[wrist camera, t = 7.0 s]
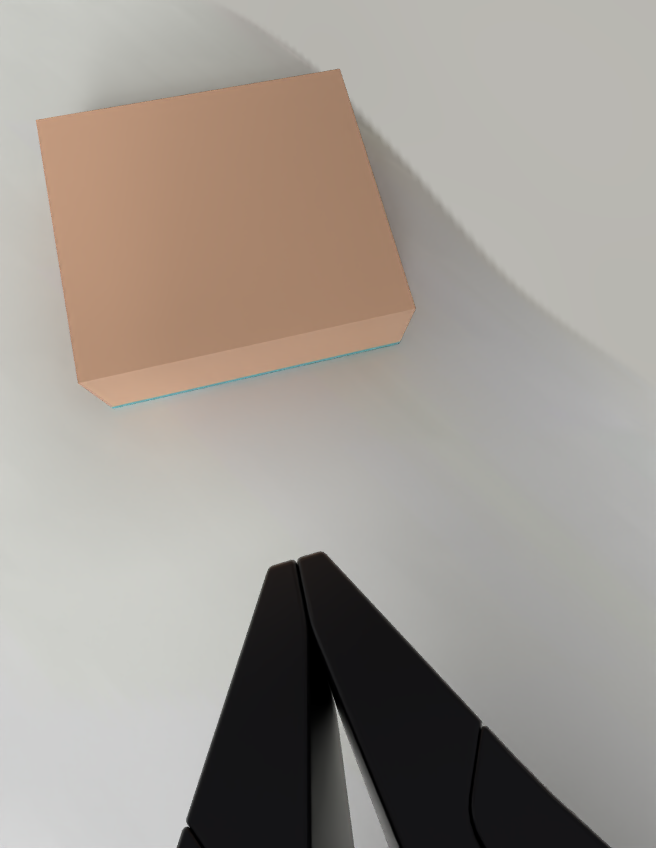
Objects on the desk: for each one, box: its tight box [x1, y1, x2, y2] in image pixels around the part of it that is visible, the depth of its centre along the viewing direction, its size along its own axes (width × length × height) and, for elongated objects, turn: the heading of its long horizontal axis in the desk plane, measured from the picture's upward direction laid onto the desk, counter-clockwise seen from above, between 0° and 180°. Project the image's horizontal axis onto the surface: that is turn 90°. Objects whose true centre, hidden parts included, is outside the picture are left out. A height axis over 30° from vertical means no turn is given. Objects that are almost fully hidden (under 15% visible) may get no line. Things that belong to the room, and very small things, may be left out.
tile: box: [36, 69, 416, 408], centre depth 17 cm, size 3×10×9 cm
